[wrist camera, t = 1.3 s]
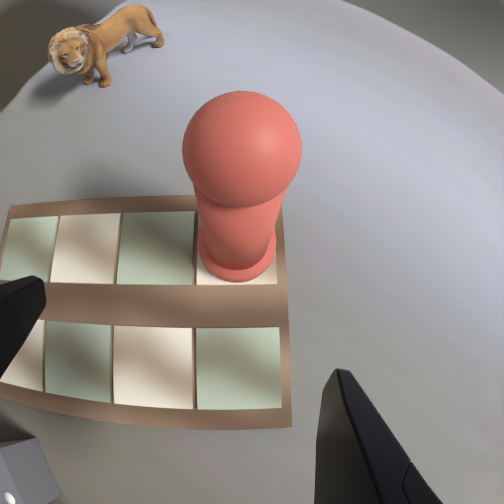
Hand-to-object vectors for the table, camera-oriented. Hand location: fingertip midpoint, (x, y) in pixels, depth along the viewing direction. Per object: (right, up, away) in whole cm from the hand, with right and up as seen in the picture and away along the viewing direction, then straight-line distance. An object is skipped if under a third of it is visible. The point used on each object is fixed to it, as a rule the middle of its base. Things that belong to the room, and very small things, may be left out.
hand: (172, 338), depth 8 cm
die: (-16, -15, +8) cm, 23 cm away
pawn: (+1, +3, +13) cm, 14 cm away
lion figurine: (-12, +22, +21) cm, 33 cm away
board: (-7, -2, +13) cm, 15 cm away
